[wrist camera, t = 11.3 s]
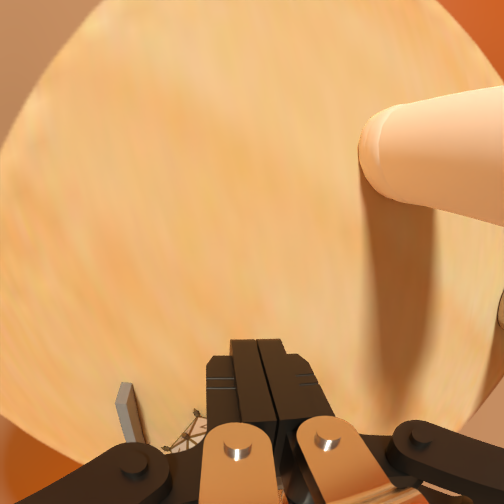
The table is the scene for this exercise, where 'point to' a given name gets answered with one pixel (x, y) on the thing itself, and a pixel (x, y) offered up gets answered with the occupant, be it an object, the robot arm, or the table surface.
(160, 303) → the table surface
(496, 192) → the bottle
